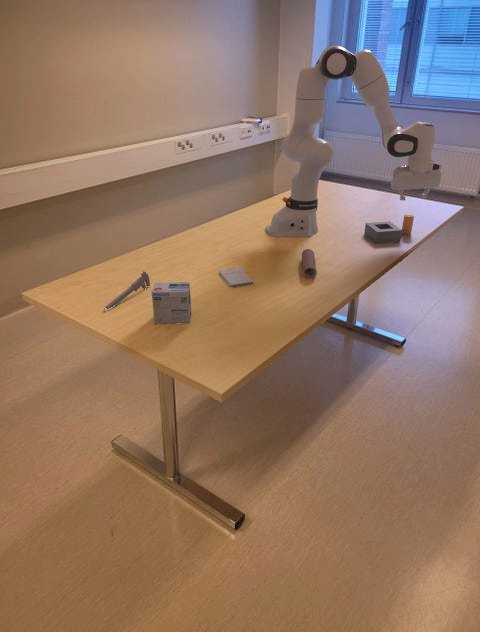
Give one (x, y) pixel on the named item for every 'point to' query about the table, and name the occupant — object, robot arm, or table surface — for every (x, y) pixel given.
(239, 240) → the table surface
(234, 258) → the table surface
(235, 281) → the external hard drive
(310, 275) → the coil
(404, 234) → the peg
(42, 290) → the table surface
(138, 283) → the caliper
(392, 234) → the socket holder
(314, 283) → the table surface
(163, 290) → the light bulb box
